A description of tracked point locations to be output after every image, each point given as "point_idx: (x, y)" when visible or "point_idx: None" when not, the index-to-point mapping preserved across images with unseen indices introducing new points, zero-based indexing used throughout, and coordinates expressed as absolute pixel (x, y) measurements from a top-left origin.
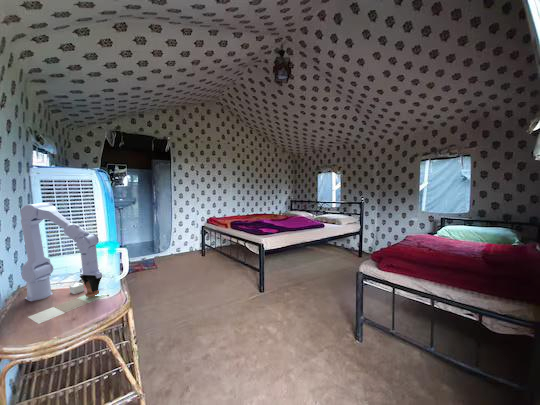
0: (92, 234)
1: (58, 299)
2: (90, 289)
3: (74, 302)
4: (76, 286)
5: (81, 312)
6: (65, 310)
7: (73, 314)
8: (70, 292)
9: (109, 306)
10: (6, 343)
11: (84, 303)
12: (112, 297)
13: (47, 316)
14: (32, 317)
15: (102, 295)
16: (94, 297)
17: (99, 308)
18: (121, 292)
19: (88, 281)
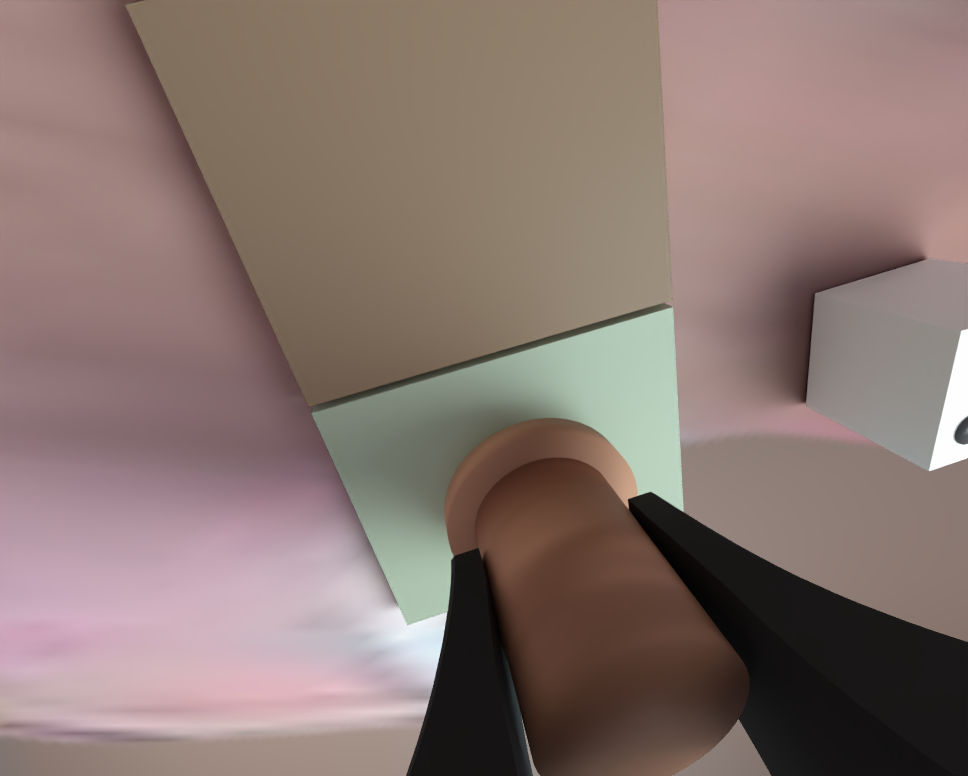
0: None
1: (923, 75)
2: (503, 565)
3: (522, 243)
4: (954, 373)
5: (40, 264)
6: (255, 30)
7: (33, 135)
8: (950, 263)
9: (18, 595)
10: None
11: (342, 359)
12: (329, 632)
13: None
14: None
15: (447, 568)
16: None
17: (31, 493)
18: (403, 702)
19: (709, 680)
